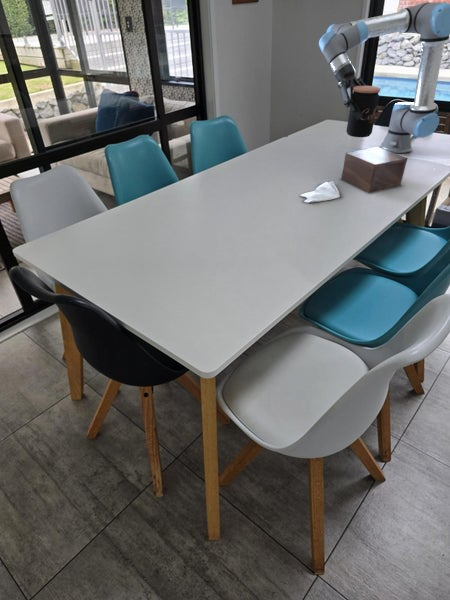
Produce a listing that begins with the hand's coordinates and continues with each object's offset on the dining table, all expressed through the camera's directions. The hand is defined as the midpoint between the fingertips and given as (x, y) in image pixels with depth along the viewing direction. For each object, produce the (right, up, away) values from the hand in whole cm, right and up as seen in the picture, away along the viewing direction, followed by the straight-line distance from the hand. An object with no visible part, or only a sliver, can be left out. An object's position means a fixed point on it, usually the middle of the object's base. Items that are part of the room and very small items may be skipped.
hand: (368, 115), depth 170 cm
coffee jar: (-2, -5, +7) cm, 9 cm away
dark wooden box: (+5, -24, +13) cm, 28 cm away
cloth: (-17, -32, +3) cm, 36 cm away
